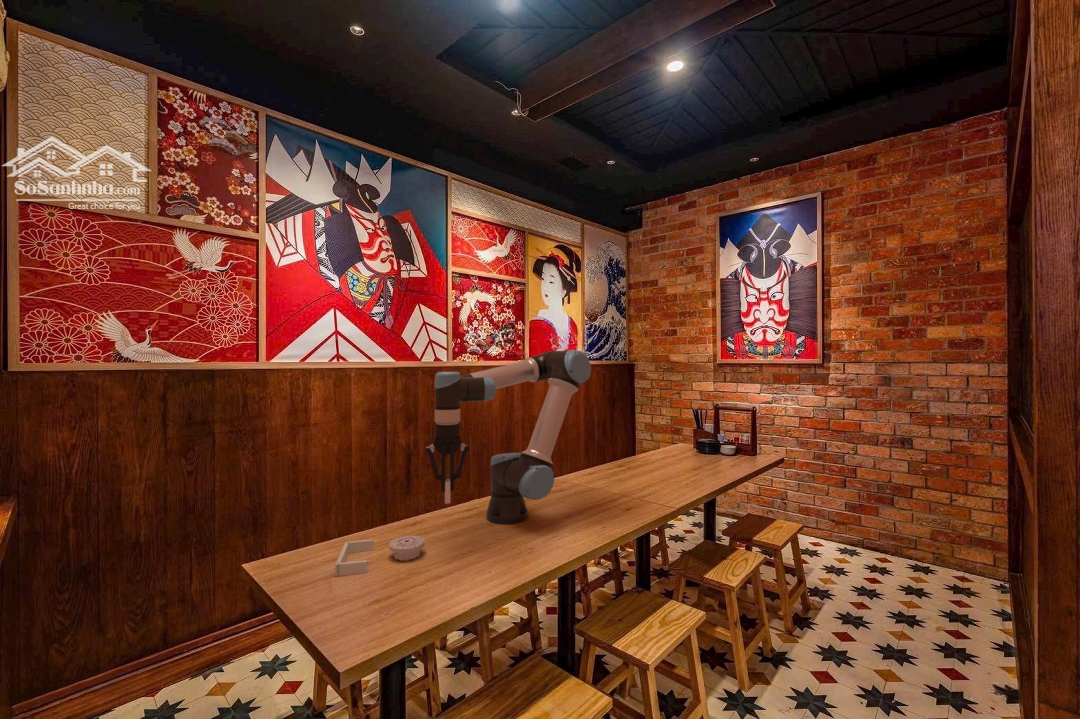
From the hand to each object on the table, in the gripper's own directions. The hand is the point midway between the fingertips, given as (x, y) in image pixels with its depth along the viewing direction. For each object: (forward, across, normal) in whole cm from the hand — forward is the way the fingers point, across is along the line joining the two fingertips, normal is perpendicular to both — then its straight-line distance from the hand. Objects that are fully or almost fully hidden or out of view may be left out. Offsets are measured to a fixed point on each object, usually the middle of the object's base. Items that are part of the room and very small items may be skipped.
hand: (447, 502), depth 137 cm
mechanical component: (+13, +17, -2) cm, 21 cm away
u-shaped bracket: (+15, +25, 0) cm, 29 cm away
